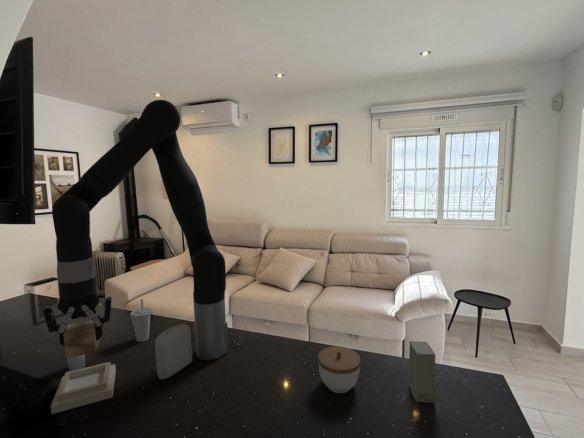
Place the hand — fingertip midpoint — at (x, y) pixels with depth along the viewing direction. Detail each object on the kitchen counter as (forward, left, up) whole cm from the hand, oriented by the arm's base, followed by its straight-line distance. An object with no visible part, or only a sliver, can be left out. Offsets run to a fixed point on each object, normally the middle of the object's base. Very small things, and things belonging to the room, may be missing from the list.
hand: (82, 341), depth 75 cm
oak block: (0, 0, -2) cm, 2 cm away
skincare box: (-74, +40, -13) cm, 85 cm away
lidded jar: (-58, +28, -13) cm, 66 cm away
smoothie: (-13, -22, -13) cm, 29 cm away
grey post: (+4, -13, -13) cm, 19 cm away
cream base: (0, 0, -13) cm, 13 cm away
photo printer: (-21, +1, -13) cm, 25 cm away
